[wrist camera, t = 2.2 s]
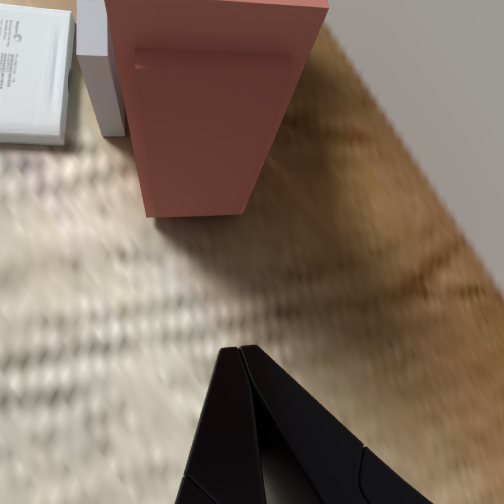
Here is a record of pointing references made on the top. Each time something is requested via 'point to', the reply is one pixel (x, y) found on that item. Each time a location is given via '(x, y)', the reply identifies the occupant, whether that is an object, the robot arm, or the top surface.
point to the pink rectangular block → (207, 93)
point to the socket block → (100, 66)
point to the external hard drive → (34, 74)
